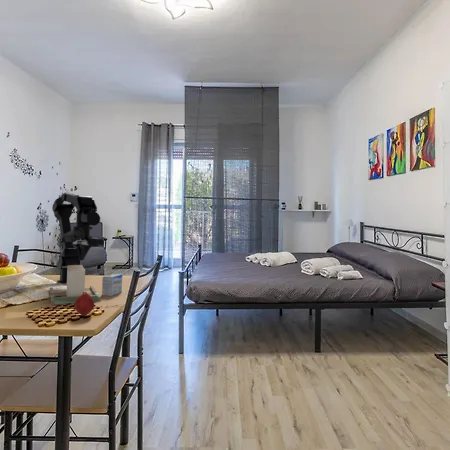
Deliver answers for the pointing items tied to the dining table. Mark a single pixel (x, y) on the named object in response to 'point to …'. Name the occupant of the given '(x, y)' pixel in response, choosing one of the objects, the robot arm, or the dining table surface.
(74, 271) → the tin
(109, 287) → the medicine box
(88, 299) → the onion
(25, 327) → the dining table surface
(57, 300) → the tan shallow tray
